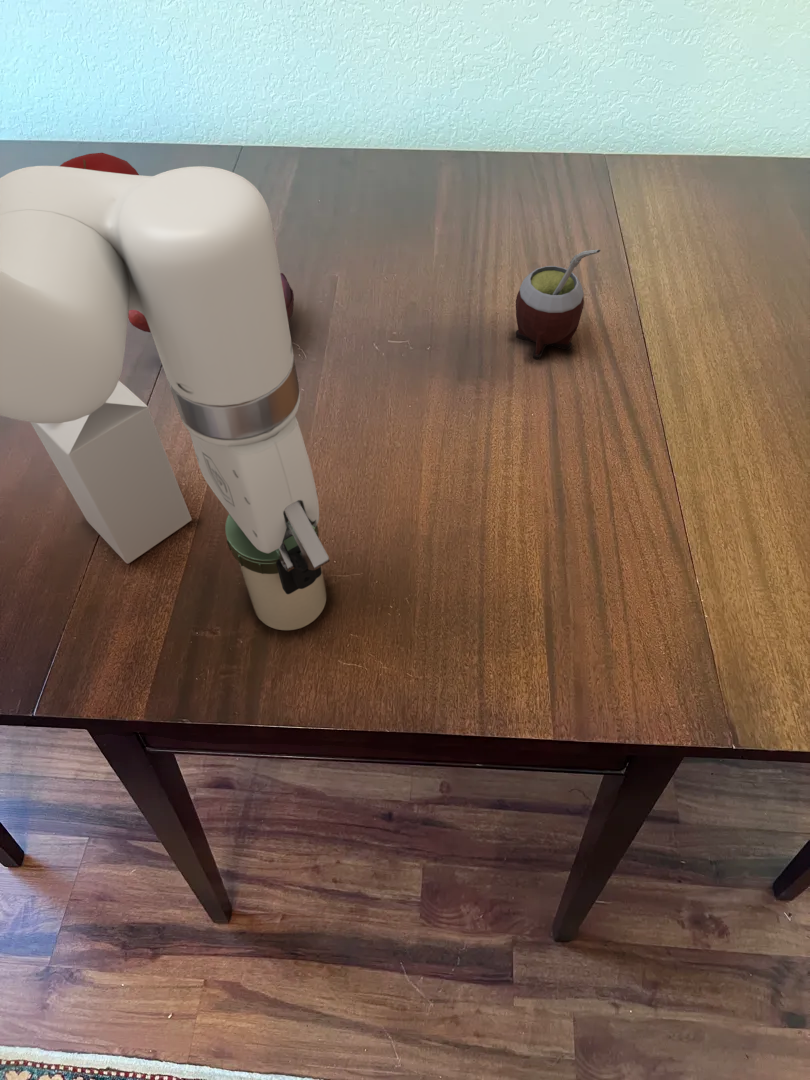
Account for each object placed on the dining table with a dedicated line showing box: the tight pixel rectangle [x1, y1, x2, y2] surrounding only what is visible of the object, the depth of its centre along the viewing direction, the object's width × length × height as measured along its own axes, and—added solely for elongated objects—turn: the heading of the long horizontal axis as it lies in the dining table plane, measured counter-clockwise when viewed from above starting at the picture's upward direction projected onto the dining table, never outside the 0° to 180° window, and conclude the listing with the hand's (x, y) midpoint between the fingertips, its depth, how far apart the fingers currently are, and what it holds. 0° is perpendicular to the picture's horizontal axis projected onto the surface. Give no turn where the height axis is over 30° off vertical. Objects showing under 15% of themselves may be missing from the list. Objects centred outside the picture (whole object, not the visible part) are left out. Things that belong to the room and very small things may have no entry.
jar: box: [237, 561, 327, 631], centre depth 64 cm, size 6×6×11 cm
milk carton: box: [29, 380, 193, 565], centre depth 65 cm, size 7×7×19 cm
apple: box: [59, 152, 140, 175], centre depth 90 cm, size 12×12×13 cm
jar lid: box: [224, 513, 319, 574], centre depth 60 cm, size 7×7×2 cm
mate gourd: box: [515, 249, 602, 361], centre depth 81 cm, size 8×8×15 cm
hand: (277, 549), depth 62 cm, fingers closed on jar lid, 6 cm apart
